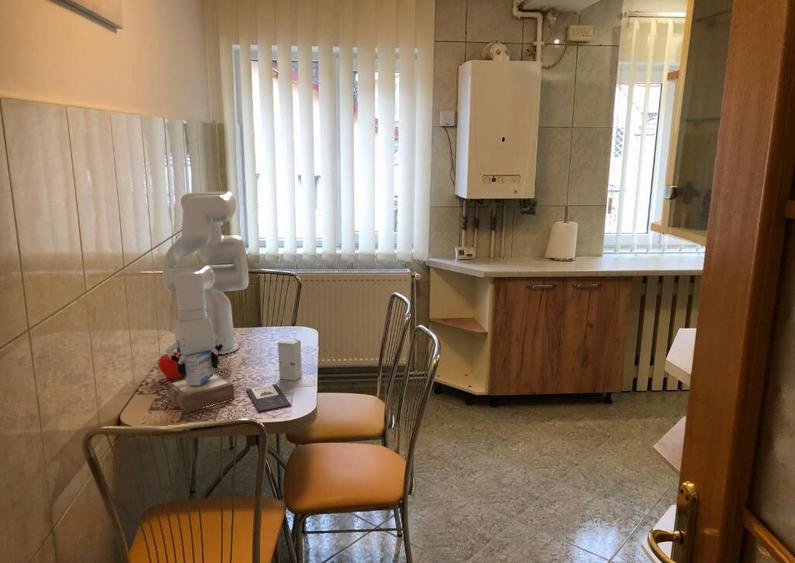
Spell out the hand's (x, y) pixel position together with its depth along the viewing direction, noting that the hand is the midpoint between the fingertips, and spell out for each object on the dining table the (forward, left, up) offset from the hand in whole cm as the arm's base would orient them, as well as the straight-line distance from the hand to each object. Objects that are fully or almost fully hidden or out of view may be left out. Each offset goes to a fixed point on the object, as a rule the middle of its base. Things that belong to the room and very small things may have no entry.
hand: (198, 371), depth 172 cm
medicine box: (0, 0, -3) cm, 3 cm away
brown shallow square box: (0, 0, -9) cm, 9 cm away
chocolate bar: (+13, +14, -9) cm, 22 cm away
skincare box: (+3, +28, -9) cm, 29 cm away
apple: (-24, +1, -9) cm, 25 cm away
